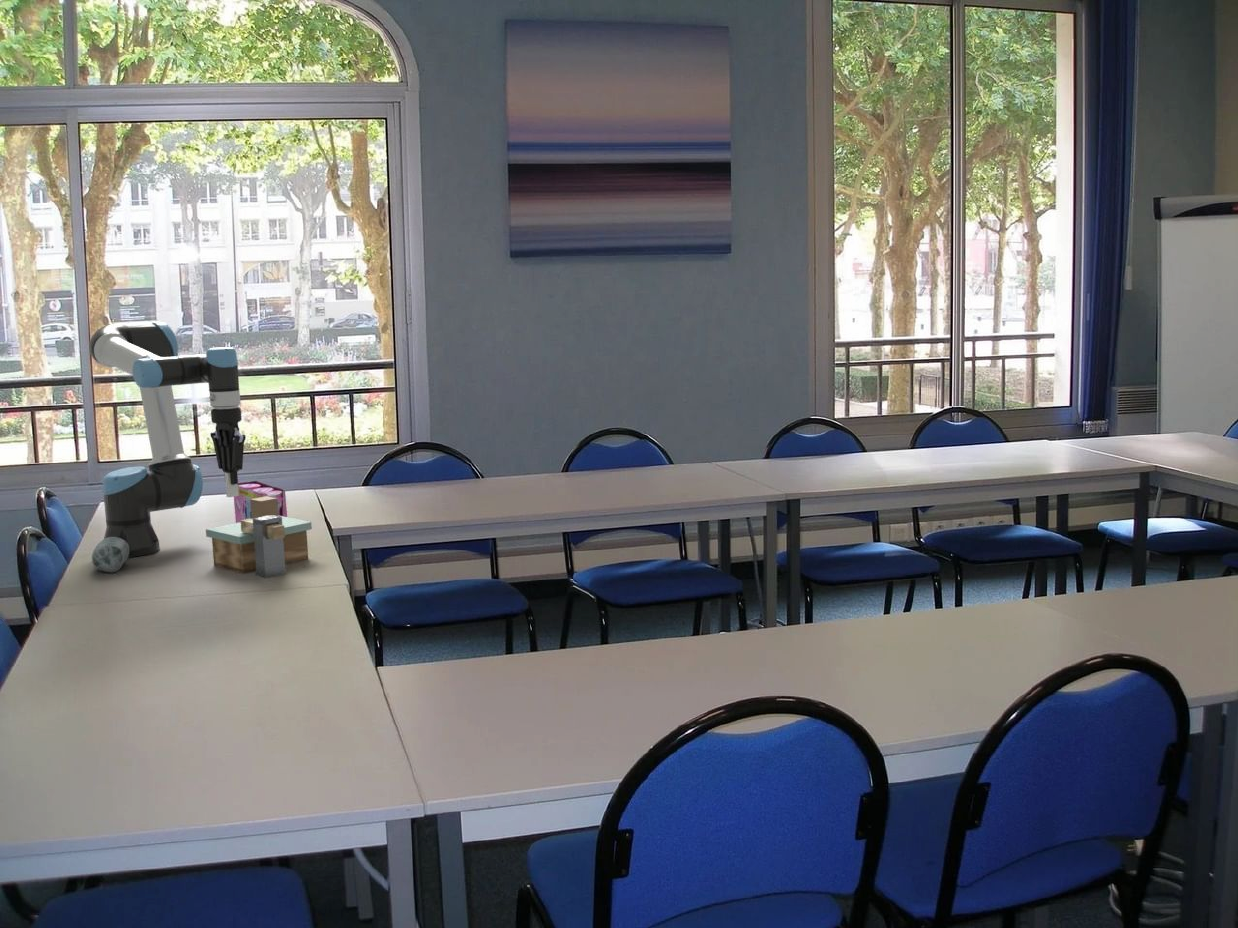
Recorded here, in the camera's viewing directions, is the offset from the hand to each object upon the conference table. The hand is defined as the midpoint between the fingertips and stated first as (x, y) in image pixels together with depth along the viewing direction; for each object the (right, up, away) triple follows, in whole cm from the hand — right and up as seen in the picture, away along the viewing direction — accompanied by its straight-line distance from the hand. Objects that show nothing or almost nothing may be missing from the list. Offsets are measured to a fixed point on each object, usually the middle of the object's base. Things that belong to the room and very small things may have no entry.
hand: (232, 496), depth 325 cm
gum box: (-6, -12, +46) cm, 48 cm away
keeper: (+12, -20, -7) cm, 24 cm away
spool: (-33, -20, +4) cm, 39 cm away
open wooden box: (+6, -18, +7) cm, 20 cm away
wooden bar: (+10, -10, -7) cm, 15 cm away
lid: (+5, -10, +6) cm, 13 cm away
